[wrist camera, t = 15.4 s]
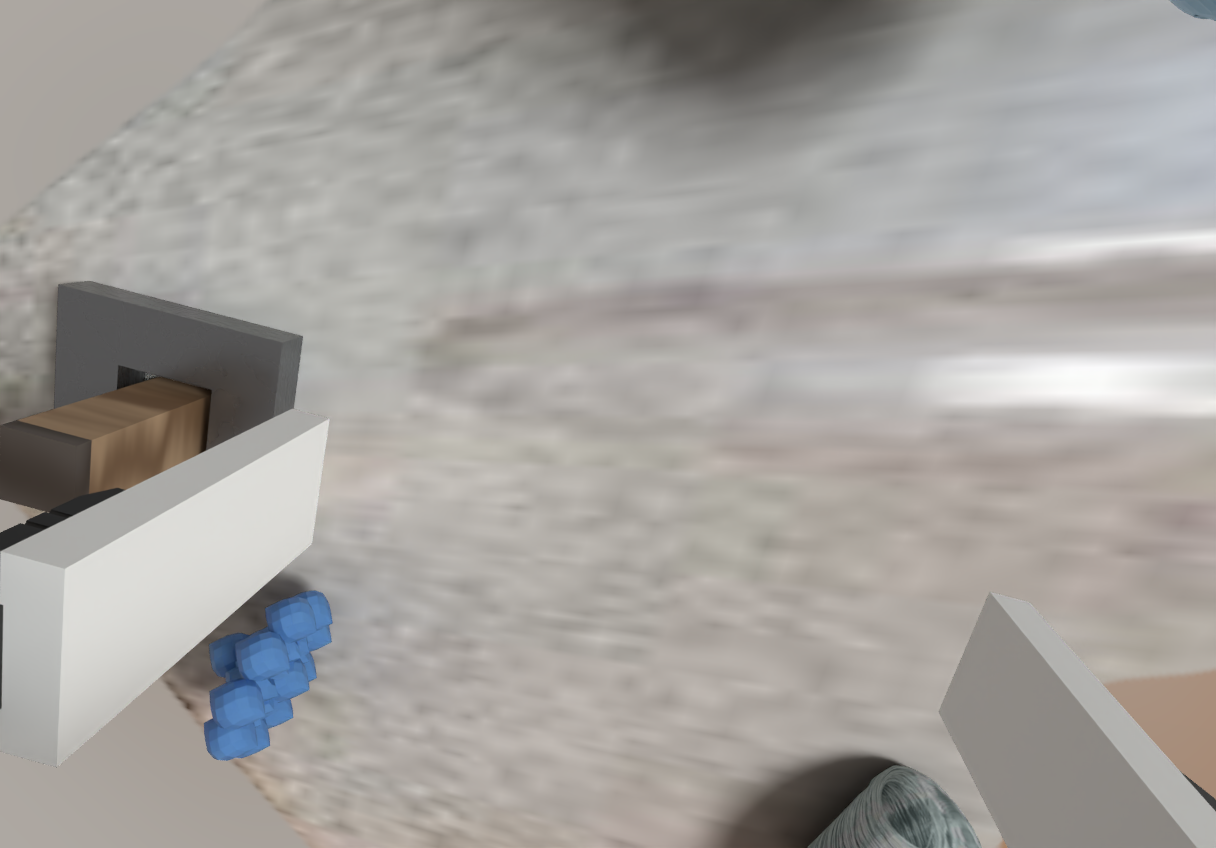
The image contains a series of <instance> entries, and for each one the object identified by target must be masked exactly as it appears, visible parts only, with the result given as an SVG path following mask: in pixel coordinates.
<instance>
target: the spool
mask: <svg viewBox="0 0 1216 848" xmlns="http://www.w3.org/2000/svg"><path fill="white" fill-rule="evenodd" d="M807 848H982V847H981V845H980V842H979V840H978V838H977V836H976V834H975V832H974V830H973V828H972V826H971V825H970V823H969V822H968V820H967V819H966V817H965V815H964V814H963V812H962V811H961V810H960V808H959V807H958V806H957V804H956V803H955V802H954V801H953V800H952V799H951V798H950V797H949V796H948V794H947V793H946V792H945V791H944V790H943V789H942V788H941V787H940V786H939V785H938V784H937V783H935V782H934V781H933V780H932V779H930V778H929V777H927V776H925V775H924V774H922V773H920V772H918V771H916V770H914V769H912V768H909V767H906V766H897V765H895V766H891V767H890V768H888V769H886V770H884V771H883V772H882V773H880V774H879V775H877V776H876V777H874V778H873V779H872V780H871V782H870V784H869V786H868V787H867V788H866V789H865V790H864V791H862V792H861V793H860V794H859V795H858V796H857V797H856V798H855V799H854V800H853V802H852V803H851V804H850V805H849V806H847V807H846V808H845V809H844V811H843V812H842V813H841V814H840V815H839V816H838V817H837V818H836V819H835V820H834V821H833V822H832V823H831V824H830V825H829V826H828V827H827V828H826V829H825V830H824V831H823V832H822V833H821V834H820V835H819V836H818V837H817V838H816V839H815V840H814V841H813V842H812V843H811V844H810V845H809V846H808V847H807Z"/></svg>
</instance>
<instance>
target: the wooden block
mask: <svg viewBox="0 0 1216 848" xmlns="http://www.w3.org/2000/svg"><path fill="white" fill-rule="evenodd" d="M211 394H212V390H210V389H206V388H202V387H198V386H194V385H191V384H187V383H183V382H179V381H175V380H172V379H168V378H164V377H157V378H154V379H150V380H147V381H144V382H140V383H137V384H134V385H131V386H127V387H124V388H121V389H118V390H114V391H111V392H108V393H105V394H101V395H98V396H95V397H91V398H88V399H85V400H82V401H78V402H75V403H72V404H69V405H65V406H62V407H59V408H56V409H52V410H49V411H46V412H42V413H39V414H36V415H33V416H29V417H26V418H23V419H20V420H16V421H13V422H10V423H7V424H3V425H0V499H2V500H5V501H9V502H13V503H16V504H20V505H24V506H28V507H31V508H35V509H39V510H42V511H46V512H50V511H51V509H53V508H55V507H57V506H59V505H61V504H63V503H66V502H68V501H70V500H72V499H74V498H76V497H79V496H82V495H86V494H91V493H96V492H100V491H105V490H109V489H114V488H120V489H124V490H127V489H129V488H131V487H133V486H135V485H137V484H139V483H141V482H143V481H145V480H147V479H149V478H151V477H153V476H155V475H158V474H160V473H162V472H164V471H166V470H168V469H170V468H172V467H174V466H176V465H178V464H180V463H182V462H184V461H186V460H188V459H190V458H192V457H194V456H196V455H198V454H200V453H202V452H205V451H206V446H207V436H208V425H209V415H210V404H211Z"/></svg>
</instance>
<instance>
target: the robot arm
mask: <svg viewBox="0 0 1216 848" xmlns="http://www.w3.org/2000/svg"><path fill="white" fill-rule="evenodd" d="M1170 1H1171V2H1172V3H1173V4H1174V5H1175V6H1176V7H1178V8H1179V9H1180V10H1182V11H1183V12H1184V13H1187V14H1189V15H1191V16H1193V17H1196V18H1200V19H1211V20H1214V21H1216V0H1170ZM329 420H330V418H326V417H323V416H319V415H315V414H311V413H307V412H303V411H300V410H296V409H290V410H288V411H286V412H284V413H282V414H280V415H278V416H276V417H274V418H272V419H270V420H268V421H266V422H264V423H262V424H260V425H258V426H256V427H254V428H252V429H249V430H247V431H245V432H243V433H241V434H239V435H237V436H235V437H233V438H231V439H229V440H227V441H225V442H223V443H221V444H219V445H217V446H215V447H213V448H211V449H209V450H207V451H205V452H202V453H200V454H198V455H196V456H194V457H192V458H190V459H188V460H186V461H184V462H182V463H180V464H178V465H176V466H174V467H172V468H170V469H168V470H166V471H164V472H162V473H160V474H158V475H155V476H153V477H151V478H149V479H147V480H145V481H143V482H141V483H139V484H137V485H135V486H133V487H131V488H129V489H127V490H124V489H120V488H114V489H109V490H105V491H100V492H96V493H91V494H86V495H82V496H79V497H76V498H74V499H72V500H70V501H68V502H66V503H63V504H61V505H59V506H57V507H55V508H53V509H51V511H50V512H49V513H47V512H44V513H42V514H40V515H38V516H35V517H33V518H31V519H29V520H27V521H26V523H25V525H24V524H21V523H20V524H18V525H16V526H14V527H12V528H9V529H7V530H5V531H3V532H1V533H0V752H3V753H6V754H10V755H14V756H17V757H21V758H24V759H28V760H31V761H35V762H38V763H42V764H46V765H50V766H53V767H58V766H59V765H60V764H61V763H62V762H64V761H65V760H66V759H67V758H68V757H69V756H70V755H72V754H73V753H74V752H75V751H76V750H77V749H78V748H80V747H81V746H82V745H83V744H84V743H85V742H86V741H88V739H90V738H91V737H92V736H93V735H94V734H96V733H97V732H98V731H99V730H100V729H101V728H102V727H103V726H105V725H106V724H107V723H108V722H109V721H110V720H111V719H113V718H114V717H115V716H116V715H117V714H118V713H119V712H121V710H123V709H124V708H125V707H126V706H127V705H129V704H130V703H131V702H132V701H133V700H134V699H135V698H137V697H138V696H139V695H140V694H141V693H142V692H143V691H145V690H146V689H147V688H148V687H149V686H150V685H151V684H153V683H154V682H155V681H156V680H157V679H158V678H159V677H161V676H162V675H163V674H164V673H165V672H166V671H167V670H169V669H170V668H171V667H172V666H173V665H174V664H175V663H177V662H178V661H179V660H180V659H181V658H182V657H183V656H184V655H186V654H187V653H188V652H189V651H190V650H191V649H192V648H194V647H195V646H196V645H197V644H198V643H199V642H200V641H202V640H203V639H204V638H205V637H206V636H207V635H208V634H210V633H211V632H212V631H213V630H214V629H215V628H216V627H218V626H219V625H220V624H221V623H222V622H223V621H224V620H226V619H227V618H228V617H229V616H230V615H231V614H232V613H234V612H235V611H236V610H237V609H238V608H239V607H240V606H242V605H243V604H244V603H245V602H246V601H247V600H248V599H250V598H251V597H252V596H253V595H254V594H255V593H256V592H257V591H259V590H260V589H261V588H262V587H263V586H264V585H265V584H267V583H268V582H269V581H270V580H271V579H272V578H273V577H275V576H276V575H277V574H278V573H279V572H280V571H281V570H283V569H284V568H285V567H286V566H287V565H288V564H289V563H291V562H292V561H293V560H294V559H295V558H296V557H297V556H299V555H300V554H301V553H302V552H303V551H304V550H305V549H307V548H308V547H309V546H310V545H311V544H312V540H313V533H314V525H315V518H316V511H317V504H318V497H319V490H320V483H321V476H322V469H323V462H324V455H325V448H326V441H327V434H328V427H329ZM939 714H940V716H941V717H942V719H943V721H944V723H945V725H946V727H947V729H948V731H949V733H950V735H951V737H952V739H953V741H954V743H955V745H956V747H957V749H958V751H959V753H960V755H961V757H962V759H963V761H964V763H965V765H966V766H967V768H968V770H969V772H970V774H971V776H972V778H973V780H974V782H975V784H976V786H977V788H978V790H979V792H980V794H981V796H982V798H983V800H984V802H985V804H986V806H987V808H988V810H989V812H990V814H991V816H992V817H993V819H994V821H995V823H996V825H997V827H998V829H999V831H1000V833H1001V835H1002V837H1003V839H1004V841H1005V843H1006V845H1007V847H1008V848H1216V800H1215V799H1214V798H1213V797H1212V796H1211V795H1209V794H1208V793H1207V792H1206V791H1204V790H1203V789H1202V788H1201V787H1199V786H1198V785H1197V784H1196V783H1194V782H1193V781H1192V780H1191V779H1189V778H1188V777H1187V776H1186V775H1184V774H1183V773H1182V772H1180V771H1179V770H1178V769H1177V767H1176V766H1175V765H1174V764H1173V763H1172V762H1171V761H1170V760H1169V759H1168V758H1167V756H1166V755H1165V754H1164V753H1163V752H1162V751H1161V749H1160V748H1159V747H1158V746H1157V745H1156V744H1155V743H1154V742H1153V741H1152V740H1151V738H1150V737H1149V736H1148V735H1147V734H1146V733H1145V731H1144V730H1143V729H1142V728H1141V727H1140V726H1139V725H1138V724H1137V723H1136V721H1135V720H1134V719H1133V718H1132V717H1131V716H1130V715H1129V713H1128V712H1127V711H1126V710H1125V709H1124V708H1123V707H1122V706H1121V704H1120V703H1119V702H1118V701H1117V700H1116V699H1115V698H1114V697H1113V696H1112V695H1111V693H1110V692H1109V691H1108V690H1107V689H1106V688H1105V687H1104V685H1103V684H1102V683H1101V682H1100V681H1099V680H1098V679H1097V678H1096V676H1095V675H1094V674H1093V673H1092V672H1091V671H1090V670H1089V669H1088V667H1087V666H1086V665H1085V664H1084V663H1083V662H1082V661H1081V660H1080V658H1079V657H1078V656H1077V655H1076V654H1075V653H1074V652H1073V651H1072V649H1071V648H1070V647H1069V646H1068V645H1067V644H1066V643H1065V642H1064V640H1063V639H1062V638H1061V637H1060V636H1059V635H1058V634H1057V633H1056V631H1055V630H1054V629H1053V628H1052V627H1051V626H1050V625H1049V624H1048V622H1047V621H1046V620H1045V619H1044V618H1043V617H1042V616H1041V615H1040V613H1039V612H1038V611H1037V610H1036V609H1035V608H1034V607H1033V606H1032V604H1031V603H1030V602H1027V601H1023V600H1019V599H1016V598H1012V597H1008V596H1004V595H1000V594H997V593H993V592H989V595H988V597H987V599H986V602H985V604H984V606H983V609H982V611H981V613H980V616H979V618H978V621H977V623H976V625H975V628H974V630H973V632H972V635H971V637H970V639H969V642H968V644H967V646H966V649H965V651H964V653H963V656H962V658H961V660H960V663H959V665H958V667H957V670H956V672H955V674H954V677H953V679H952V681H951V684H950V686H949V688H948V691H947V693H946V695H945V698H944V700H943V703H942V705H941V707H940V710H939Z"/></svg>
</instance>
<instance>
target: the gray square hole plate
mask: <svg viewBox="0 0 1216 848" xmlns="http://www.w3.org/2000/svg"><path fill="white" fill-rule="evenodd" d="M302 338H303V336H300V335H296V334H292V333H288V332H284V331H280V330H277V329H273V328H269V327H265V326H261V325H257V324H253V323H250V322H246V321H242V320H238V319H234V318H230V317H227V316H223V315H219V314H215V313H211V312H207V311H203V310H200V309H196V308H192V307H188V306H184V305H180V304H176V303H173V302H169V301H165V300H161V299H157V298H153V297H149V296H146V295H142V294H138V293H134V292H130V291H126V290H122V289H119V288H115V287H111V286H107V285H103V284H99V283H95V282H92V281H85V282H76V283H67V284H58V311H57V339H56V368H55V396H54V409H56V408H59V407H62V406H65V405H69V404H72V403H75V402H78V401H82V400H85V399H88V398H91V397H95V396H98V395H101V394H105V393H108V392H111V391H114V390H118V389H121V388H124V387H127V386H131V385H134V384H137V383H140V382H144V379H145V372H147V373H150V374H154V375H158V376H162V377H166V378H169V379H173V380H177V381H181V382H185V383H188V384H192V385H196V386H200V387H204V388H208V389H211V390H212V394H211V404H210V415H209V425H208V436H207V446H206V451H207V450H209V449H211V448H213V447H215V446H217V445H219V444H221V443H223V442H225V441H227V440H229V439H231V438H233V437H235V436H237V435H239V434H241V433H243V432H245V431H247V430H249V429H252V428H254V427H256V426H258V425H260V424H262V423H264V422H266V421H268V420H270V419H272V418H274V417H276V416H278V415H280V414H282V413H284V412H286V411H288V410H290V409H294V401H295V393H296V385H297V377H298V370H299V362H300V354H301V346H302Z"/></svg>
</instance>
